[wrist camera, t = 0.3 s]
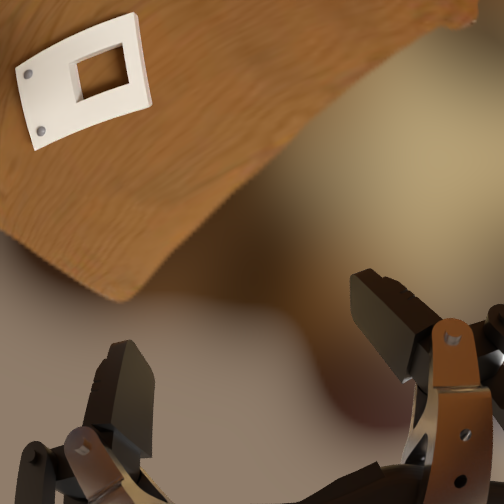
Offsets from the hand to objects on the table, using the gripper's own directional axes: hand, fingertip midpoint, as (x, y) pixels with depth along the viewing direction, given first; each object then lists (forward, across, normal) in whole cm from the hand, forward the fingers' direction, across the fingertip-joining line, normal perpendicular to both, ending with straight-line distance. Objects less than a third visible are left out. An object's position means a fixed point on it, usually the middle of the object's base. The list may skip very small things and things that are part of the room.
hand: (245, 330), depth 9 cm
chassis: (+25, +11, -19) cm, 33 cm away
